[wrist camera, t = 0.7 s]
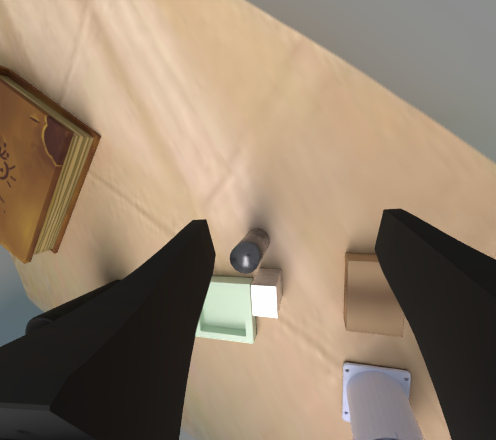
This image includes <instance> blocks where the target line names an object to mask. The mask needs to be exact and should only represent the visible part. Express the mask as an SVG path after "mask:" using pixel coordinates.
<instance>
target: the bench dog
mask: <svg viewBox="0 0 496 440" xmlns="http://www.w3.org/2000/svg"><path fill="white" fill-rule="evenodd" d="M251 296H252V311H253V316H263V317H273V318H277V317H278V313H279V309H280V304H281V300H282V275H281V269H267V268H259V270H258V272H257V274H256V276H255V278H254V280H253V282H252V284H251Z"/></svg>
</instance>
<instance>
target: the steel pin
mask: <svg viewBox="0 0 496 440" xmlns="http://www.w3.org/2000/svg"><path fill="white" fill-rule="evenodd" d="M269 243H270V239H269V236H268V234H267V233H266V232H265V231H264V230H261V229H253V230H251V231H250V232H249V233H248V234H247V235H246V236H245V237H244V238H243V239H242V240H241V241H240V243H239V244H238V245H237V246H236V247H235V248H234V249H233V250H232V252H231V254H230V262H231V264H232V266H233V267H234V268H235V269H236V270H237V271H239V272H241V273H251V272H253V271H254V270H255V269H256V268H257V266H258V265H259V263H260V261H261V259H262V257H263V255H264V253H265V252H266V250H267V248H268V246H269Z"/></svg>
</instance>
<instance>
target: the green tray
mask: <svg viewBox="0 0 496 440" xmlns="http://www.w3.org/2000/svg"><path fill="white" fill-rule="evenodd" d="M252 282H253V278H247V277H229V276H212V278H211V282H210V285H209V289H208V292H207V295H206V299H205V302H204V305H203V309H202V312H201V315H200V319H199V322H198V326H197V330H196V335H195V336H197V337H205V338H213V339H220V340H228V341H236V342H244V343H251V344H254V341H255V338H256V335H257V332H256V316H253V311H252V296H251V284H252Z"/></svg>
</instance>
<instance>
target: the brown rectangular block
mask: <svg viewBox="0 0 496 440" xmlns="http://www.w3.org/2000/svg"><path fill="white" fill-rule="evenodd" d="M344 322H345V327H346V331H353V332H362V333H372V334H381V335H390V336H399V337H402V336H403V324H404V313H403V311H402V309H401V307H400V305H399V303H398V301H397V299H396V297H395V295H394V293H393V291H392V290H391V288H390V286H389V284H388V282H387V280H386V278H385V276H384V274H383V272H382V269H381V267H380V264H379V261H378V258H377V255H376V254H366V253H345V285H344Z"/></svg>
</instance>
